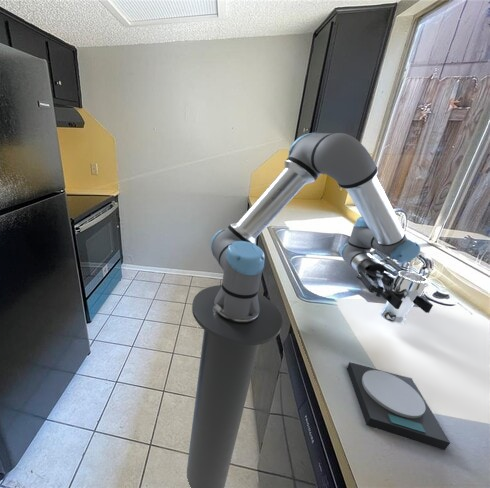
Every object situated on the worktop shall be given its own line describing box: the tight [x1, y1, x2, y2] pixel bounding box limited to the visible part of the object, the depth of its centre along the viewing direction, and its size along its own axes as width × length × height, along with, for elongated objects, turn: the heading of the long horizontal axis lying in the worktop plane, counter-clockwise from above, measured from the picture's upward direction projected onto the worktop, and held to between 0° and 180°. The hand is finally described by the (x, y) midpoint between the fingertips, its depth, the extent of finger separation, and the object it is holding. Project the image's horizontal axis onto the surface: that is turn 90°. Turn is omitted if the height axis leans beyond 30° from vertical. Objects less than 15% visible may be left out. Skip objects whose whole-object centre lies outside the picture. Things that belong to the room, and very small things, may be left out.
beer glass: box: [379, 270, 429, 325], centre depth 77 cm, size 7×7×15 cm
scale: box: [346, 361, 451, 451], centre depth 58 cm, size 15×13×3 cm
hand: (414, 306), depth 72 cm, fingers closed on beer glass, 7 cm apart
